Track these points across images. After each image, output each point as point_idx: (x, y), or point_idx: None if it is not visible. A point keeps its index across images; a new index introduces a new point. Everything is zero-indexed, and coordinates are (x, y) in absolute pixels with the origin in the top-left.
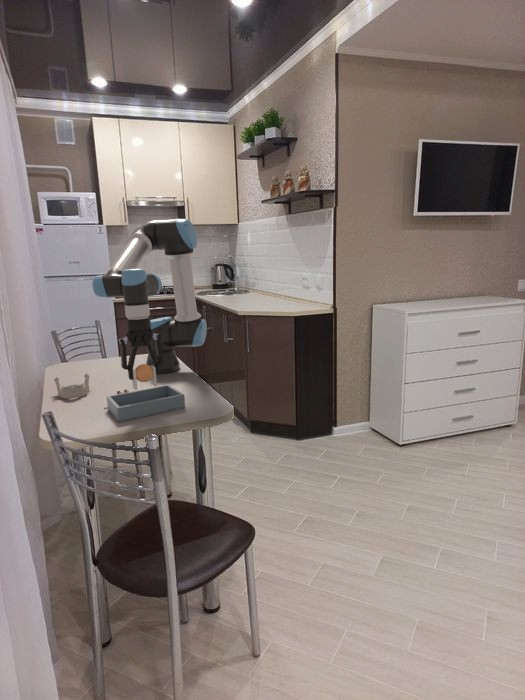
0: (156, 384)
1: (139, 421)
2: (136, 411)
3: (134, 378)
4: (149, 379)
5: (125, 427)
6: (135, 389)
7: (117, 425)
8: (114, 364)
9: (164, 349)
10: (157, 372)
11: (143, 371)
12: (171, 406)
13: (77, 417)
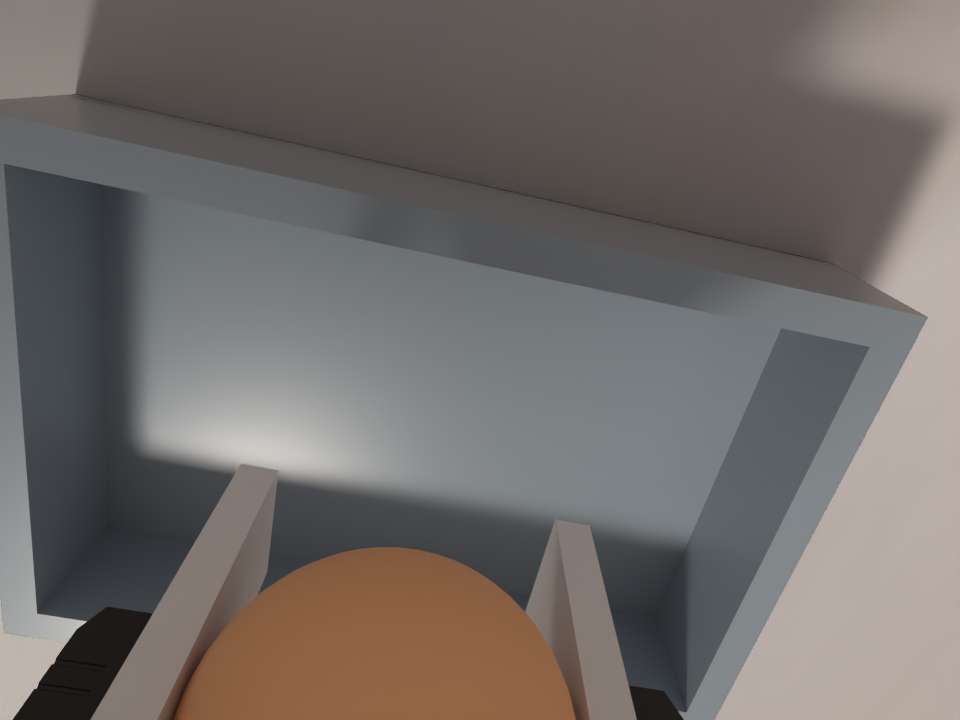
0: (241, 476)
1: (692, 108)
2: (668, 242)
3: (616, 676)
4: (341, 553)
5: (901, 55)
6: (583, 528)
7: (900, 188)
8: None
9: None
10: (86, 657)
11: (458, 717)
12: (232, 138)
13: (928, 630)
